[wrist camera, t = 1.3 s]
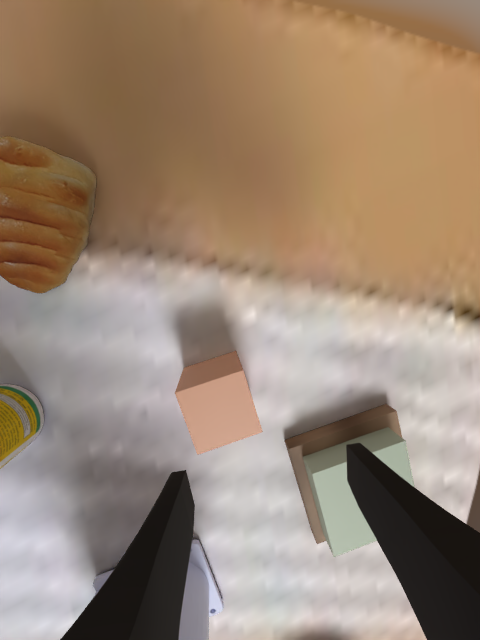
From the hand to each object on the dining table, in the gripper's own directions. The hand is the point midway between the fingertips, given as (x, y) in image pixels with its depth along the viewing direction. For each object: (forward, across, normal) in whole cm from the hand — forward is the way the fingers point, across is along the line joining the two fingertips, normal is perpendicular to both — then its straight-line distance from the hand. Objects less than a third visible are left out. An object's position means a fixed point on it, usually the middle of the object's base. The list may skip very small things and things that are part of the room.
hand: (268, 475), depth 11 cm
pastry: (+12, +13, -14) cm, 22 cm away
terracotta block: (+10, +3, +1) cm, 11 cm away
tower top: (+8, -8, +11) cm, 16 cm away
